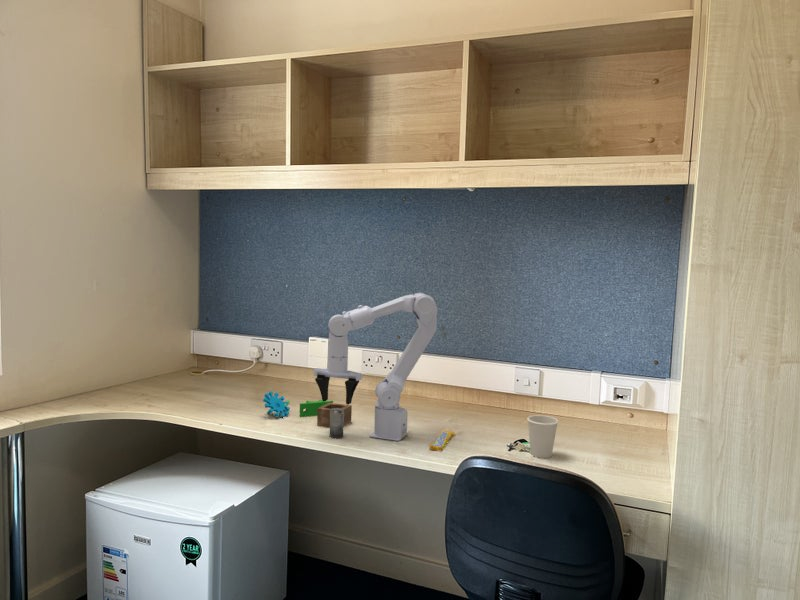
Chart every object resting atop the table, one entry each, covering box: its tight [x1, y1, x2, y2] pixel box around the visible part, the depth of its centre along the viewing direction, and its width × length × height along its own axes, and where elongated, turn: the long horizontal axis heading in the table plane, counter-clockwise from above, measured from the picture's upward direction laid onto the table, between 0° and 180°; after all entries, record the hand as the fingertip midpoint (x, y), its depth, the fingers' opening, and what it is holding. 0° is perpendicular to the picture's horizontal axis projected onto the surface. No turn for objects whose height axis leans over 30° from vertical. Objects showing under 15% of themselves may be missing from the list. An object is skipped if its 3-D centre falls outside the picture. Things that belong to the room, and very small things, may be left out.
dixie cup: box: [526, 414, 559, 459], centre depth 166 cm, size 8×8×10 cm
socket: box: [316, 402, 353, 429], centre depth 190 cm, size 8×8×6 cm
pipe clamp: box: [299, 399, 334, 418], centre depth 200 cm, size 11×4×5 cm, turn 116°
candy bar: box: [429, 430, 456, 452], centre depth 175 cm, size 17×4×2 cm, turn 163°
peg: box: [329, 408, 345, 440], centre depth 177 cm, size 4×4×8 cm
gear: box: [262, 391, 291, 418], centre depth 198 cm, size 11×6×10 cm
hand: (336, 402), depth 177 cm, fingers open, 7 cm apart
